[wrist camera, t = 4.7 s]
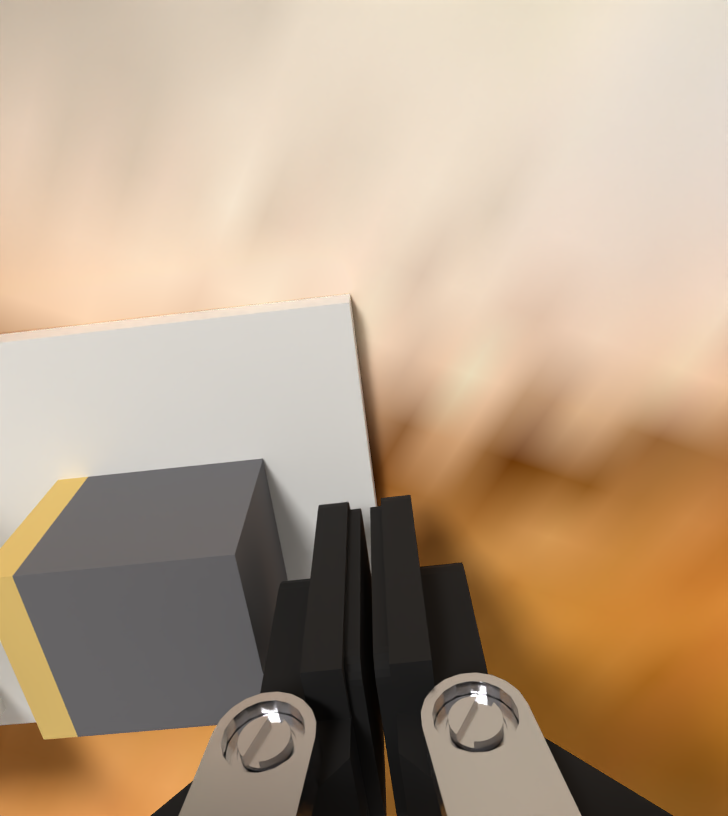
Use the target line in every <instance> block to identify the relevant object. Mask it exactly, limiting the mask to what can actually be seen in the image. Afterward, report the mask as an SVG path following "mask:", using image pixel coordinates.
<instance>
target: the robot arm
mask: <svg viewBox="0 0 728 816" xmlns="http://www.w3.org/2000/svg"><path fill="white" fill-rule="evenodd" d="M370 531H371V570H370V563H369V556H368V550H367V543H366V536H365V529H364V523H363V516H362V511H361V508H359V509H350V505H349V502H341V503H332V504H323V505H319V506H318V513H317V522H316V531H315V540H314V549H313V558H312V567H311V576H310V579H300V580H290V581H282V582H281V583H280V586H279V589H278V595H277V601H276V606H275V612H274V618H273V623H272V629H271V635H270V640H269V646H268V652H267V657H266V663H265V669H264V674H263V680H262V686H261V691H260V694H258V695H255V696H252V697H250V698H247V699H245V700H243V701H242V702H240V703H239V704H237V705H235V706H234V707H232V708H231V709H230V710H229V711H228V712H227V713H226V714H225V715H224V716H223V717H222V718H221V719H220V721H219V723H218V724H217V726H216V728H215V730H214V731H213V733H212V736H211V738H210V740H209V743H208V745H207V748H206V750H205V753H204V755H203V758H202V760H201V762H200V765H199V767H198V770H197V772H196V775H195V777H194V780H193V781H192V782H191V783H190V784H188V785H187V786H186V787H185V788H184V789H182V790H181V791H180V792H179V793H178V794H176V795H175V796H174V797H173V798H172V799H170V800H169V801H168V802H167V803H166V804H164V805H163V806H162V807H161V808H159V809H158V810H157V811H156V812H155V813H153V814H152V815H151V816H386V787H385V759H384V736H385V743H386V749H387V756H388V762H389V768H390V775H391V781H392V787H393V794H394V800H395V806H396V813H397V816H673V815H671V814H669V813H668V812H666V811H664V810H663V809H661V808H659V807H658V806H656V805H655V804H653V803H651V802H650V801H648V800H646V799H645V798H643V797H641V796H640V795H638V794H636V793H635V792H633V791H632V790H630V789H628V788H627V787H625V786H623V785H622V784H620V783H618V782H617V781H615V780H613V779H612V778H610V777H608V776H607V775H605V774H604V773H602V772H600V771H599V770H597V769H595V768H594V767H592V766H590V765H589V764H587V763H585V762H584V761H582V760H580V759H579V758H577V757H576V756H574V755H572V754H571V753H569V752H567V751H566V750H564V749H562V748H561V747H559V746H557V745H556V744H554V743H553V742H551V741H549V740H548V739H546V738H544V736H543V734H542V732H541V730H540V728H539V726H538V724H537V722H536V720H535V718H534V715H533V713H532V711H531V709H530V707H529V705H528V703H527V702H526V700H525V699H524V697H523V696H522V694H521V693H520V692H519V690H517V689H516V688H515V687H513V686H512V685H511V684H510V683H508V682H507V681H505V680H503V679H500V678H498V677H495V676H493V675H489V674H488V672H487V668H486V664H485V659H484V655H483V650H482V646H481V642H480V637H479V633H478V628H477V624H476V619H475V615H474V611H473V606H472V602H471V597H470V593H469V589H468V584H467V580H466V575H465V571H464V567H463V564H462V563H453V564H444V565H434V566H425V567H420V566H419V558H418V550H417V542H416V535H415V527H414V519H413V511H412V504H411V496H410V495H405V496H396V497H387V498H381V506H378V507H370ZM383 730H384V731H383Z"/></svg>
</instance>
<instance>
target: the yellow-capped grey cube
mask: <svg viewBox="0 0 728 816" xmlns="http://www.w3.org/2000/svg"><path fill="white" fill-rule="evenodd" d="M282 581H288V579H287V574H286V569H285V564H284V559H283V554H282V549H281V544H280V539H279V534H278V529H277V524H276V520H275V515H274V510H273V505H272V500H271V495H270V490H269V485H268V480H267V475H266V470H265V465H264V460H263V459H253V460H243V461H234V462H224V463H215V464H205V465H196V466H186V467H176V468H167V469H157V470H148V471H138V472H129V473H119V474H109V475H100V476H90V477H81V478H71V479H62V480H57V482H56V483H55V484H54V485H53V486H52V487H51V489H50V490H49V491H48V492H47V493H46V495H45V496H44V497H43V498H42V499H41V501H40V502H39V503H38V504H37V505H36V507H35V508H34V509H33V510H32V511H31V512H30V514H29V515H28V516H27V517H26V518H25V520H24V521H23V522H22V523H21V524H20V526H19V527H18V528H17V529H16V530H15V532H14V533H13V534H12V535H11V536H10V537H9V539H8V540H7V541H6V542H5V543H4V545H3V546H2V547H1V548H0V641H1V643H2V646H3V648H4V650H5V652H6V655H7V657H8V659H9V662H10V664H11V666H12V668H13V671H14V673H15V675H16V677H17V680H18V682H19V684H20V687H21V689H22V691H23V693H24V696H25V698H26V700H27V703H28V705H29V707H30V709H31V712H32V714H33V716H34V718H35V721H36V723H37V725H38V728H39V730H40V732H41V734H42V737H43V739H44V740H46V739H57V738H69V737H81V736H93V735H104V734H116V733H128V732H140V731H151V730H163V729H175V728H187V727H198V726H210V725H217V724H218V723H219V721H220V719H221V718H222V717H223V716H224V715H225V714H226V713H227V712H228V711H229V710H230V709H231V708H232V707H234V706H235V705H237V704H239V703H240V702H242V701H243V700H245V699H247V698H250V697H252V696H255V695H258V694H260V691H261V686H262V680H263V674H264V669H265V663H266V657H267V652H268V646H269V640H270V635H271V629H272V623H273V618H274V612H275V606H276V601H277V595H278V589H279V586H280V583H281V582H282Z"/></svg>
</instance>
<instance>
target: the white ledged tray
mask: <svg viewBox="0 0 728 816" xmlns="http://www.w3.org/2000/svg"><path fill="white" fill-rule="evenodd" d="M253 459H263V460H264V465H265V470H266V475H267V480H268V485H269V490H270V495H271V500H272V505H273V510H274V515H275V520H276V524H277V529H278V534H279V539H280V544H281V549H282V554H283V559H284V564H285V569H286V574H287V579H288V581H290V580H300V579H310V576H311V567H312V558H313V549H314V540H315V531H316V522H317V513H318V506H319V505H323V504H332V503H341V502H349V505H350V509H359V508H361V511H362V516H363V523H364V529H365V536H366V543H367V550H368V556H369V563H370V570H371V531H370V507H377V500H376V492H375V484H374V476H373V469H372V461H371V453H370V445H369V438H368V430H367V422H366V414H365V406H364V399H363V391H362V383H361V375H360V368H359V360H358V352H357V344H356V336H355V329H354V321H353V313H352V305H351V298H350V294H344V295H335V296H327V297H318V298H309V299H301V300H292V301H283V302H275V303H266V304H258V305H249V306H240V307H232V308H223V309H215V310H206V311H197V312H189V313H180V314H171V315H163V316H154V317H146V318H137V319H128V320H120V321H111V322H103V323H94V324H85V325H77V326H68V327H59V328H51V329H42V330H34V331H25V332H16V333H8V334H0V548H1V547H2V546H3V545H4V543H5V542H6V541H7V540H8V539H9V537H10V536H11V535H12V534H13V533H14V532H15V530H16V529H17V528H18V527H19V526H20V524H21V523H22V522H23V521H24V520H25V518H26V517H27V516H28V515H29V514H30V512H31V511H32V510H33V509H34V508H35V507H36V505H37V504H38V503H39V502H40V501H41V499H42V498H43V497H44V496H45V495H46V493H47V492H48V491H49V490H50V489H51V487H52V486H53V485H54V484H55V483H56V482H57V480H62V479H71V478H81V477H90V476H100V475H109V474H119V473H129V472H138V471H148V470H157V469H167V468H176V467H186V466H196V465H205V464H215V463H224V462H234V461H243V460H253ZM34 722H36V721H35V718H34V716H33V714H32V712H31V709H30V707H29V705H28V703H27V700H26V698H25V696H24V693H23V691H22V689H21V687H20V684H19V682H18V680H17V677H16V675H15V673H14V671H13V668H12V666H11V664H10V662H9V659H8V657H7V655H6V652H5V650H4V648H3V646H2V643H1V641H0V725H11V724H23V723H34Z"/></svg>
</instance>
